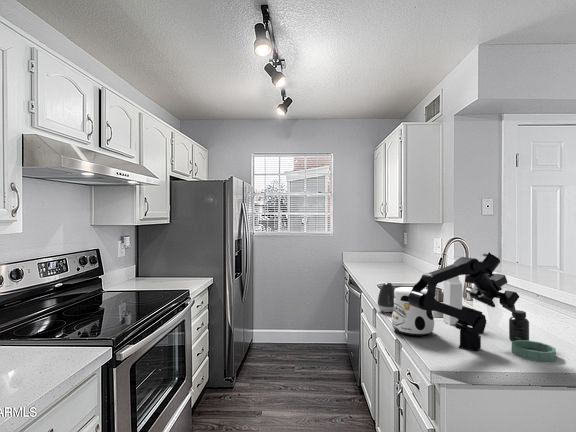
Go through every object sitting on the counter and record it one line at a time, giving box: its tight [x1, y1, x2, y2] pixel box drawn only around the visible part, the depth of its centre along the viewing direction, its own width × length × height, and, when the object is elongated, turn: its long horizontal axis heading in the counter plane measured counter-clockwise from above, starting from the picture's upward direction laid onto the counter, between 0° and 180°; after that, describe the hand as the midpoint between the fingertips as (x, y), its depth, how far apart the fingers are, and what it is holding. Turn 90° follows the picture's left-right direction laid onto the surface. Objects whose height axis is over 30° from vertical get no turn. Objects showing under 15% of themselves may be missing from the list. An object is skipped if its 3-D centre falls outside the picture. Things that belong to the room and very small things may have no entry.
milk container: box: [391, 286, 435, 337], centre depth 157 cm, size 17×17×18 cm
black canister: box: [377, 282, 395, 313], centre depth 192 cm, size 10×10×15 cm
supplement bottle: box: [508, 309, 530, 342], centre depth 147 cm, size 7×7×12 cm
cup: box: [511, 339, 557, 363], centre depth 132 cm, size 13×13×3 cm
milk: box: [442, 275, 463, 326], centre depth 172 cm, size 6×6×22 cm
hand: (504, 309), depth 144 cm, fingers open, 9 cm apart
